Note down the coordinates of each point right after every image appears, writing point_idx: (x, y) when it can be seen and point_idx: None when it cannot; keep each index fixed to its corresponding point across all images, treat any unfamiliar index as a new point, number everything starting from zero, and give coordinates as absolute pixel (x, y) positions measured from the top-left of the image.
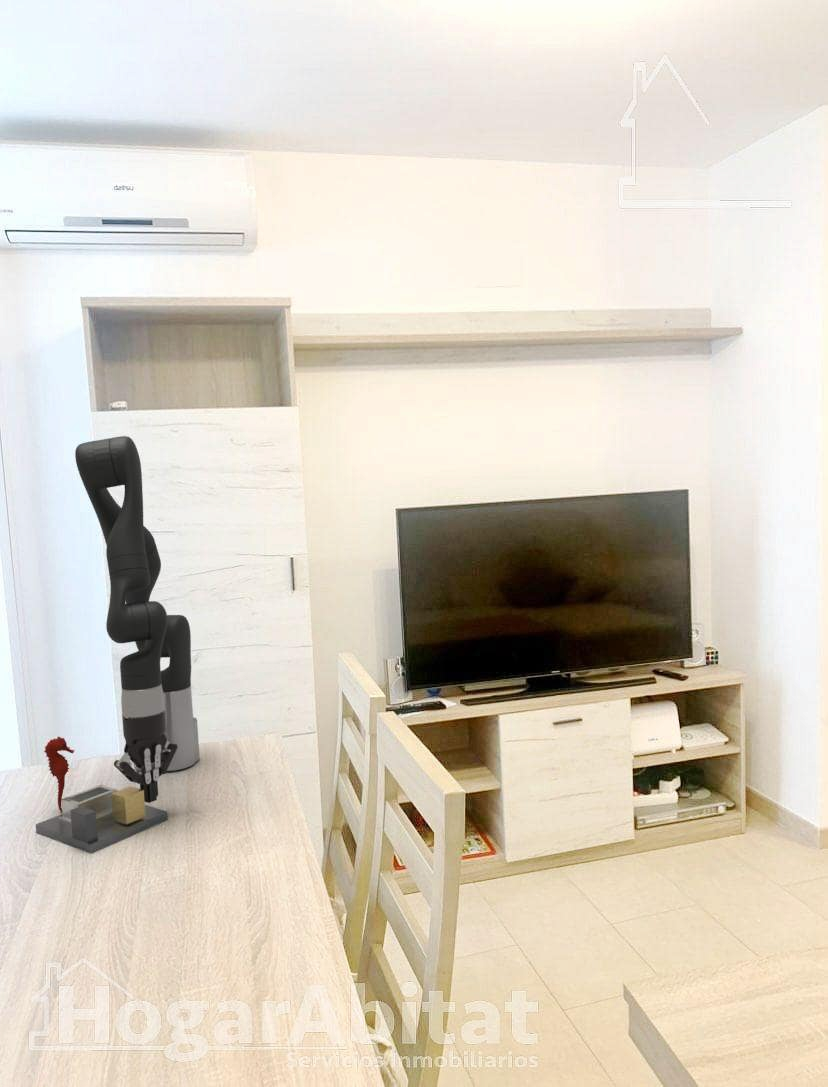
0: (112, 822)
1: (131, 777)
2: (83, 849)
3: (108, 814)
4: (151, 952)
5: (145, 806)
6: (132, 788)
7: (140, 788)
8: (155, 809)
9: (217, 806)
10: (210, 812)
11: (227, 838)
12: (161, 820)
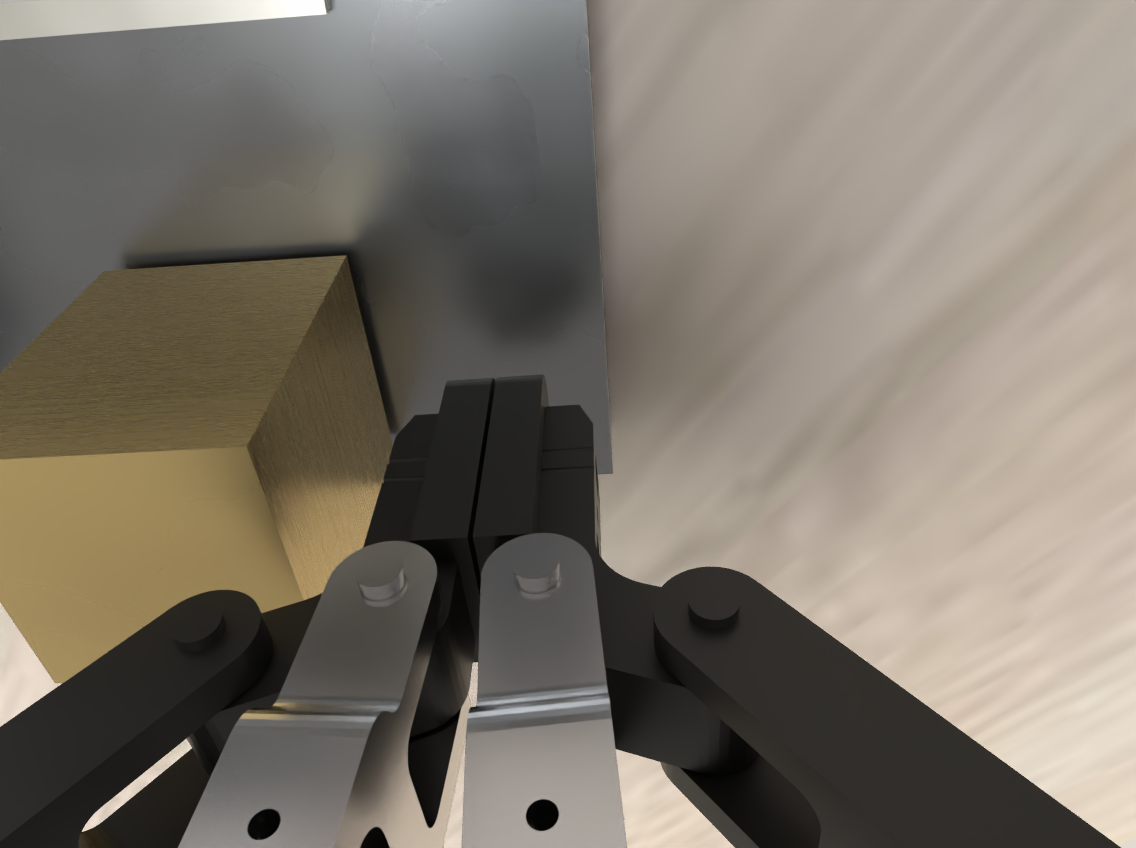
0: (98, 270)
1: (93, 839)
2: None
3: (104, 31)
4: None
5: (563, 181)
6: (238, 540)
7: (375, 517)
8: (578, 346)
9: (1012, 528)
10: (886, 567)
11: (632, 836)
12: None
